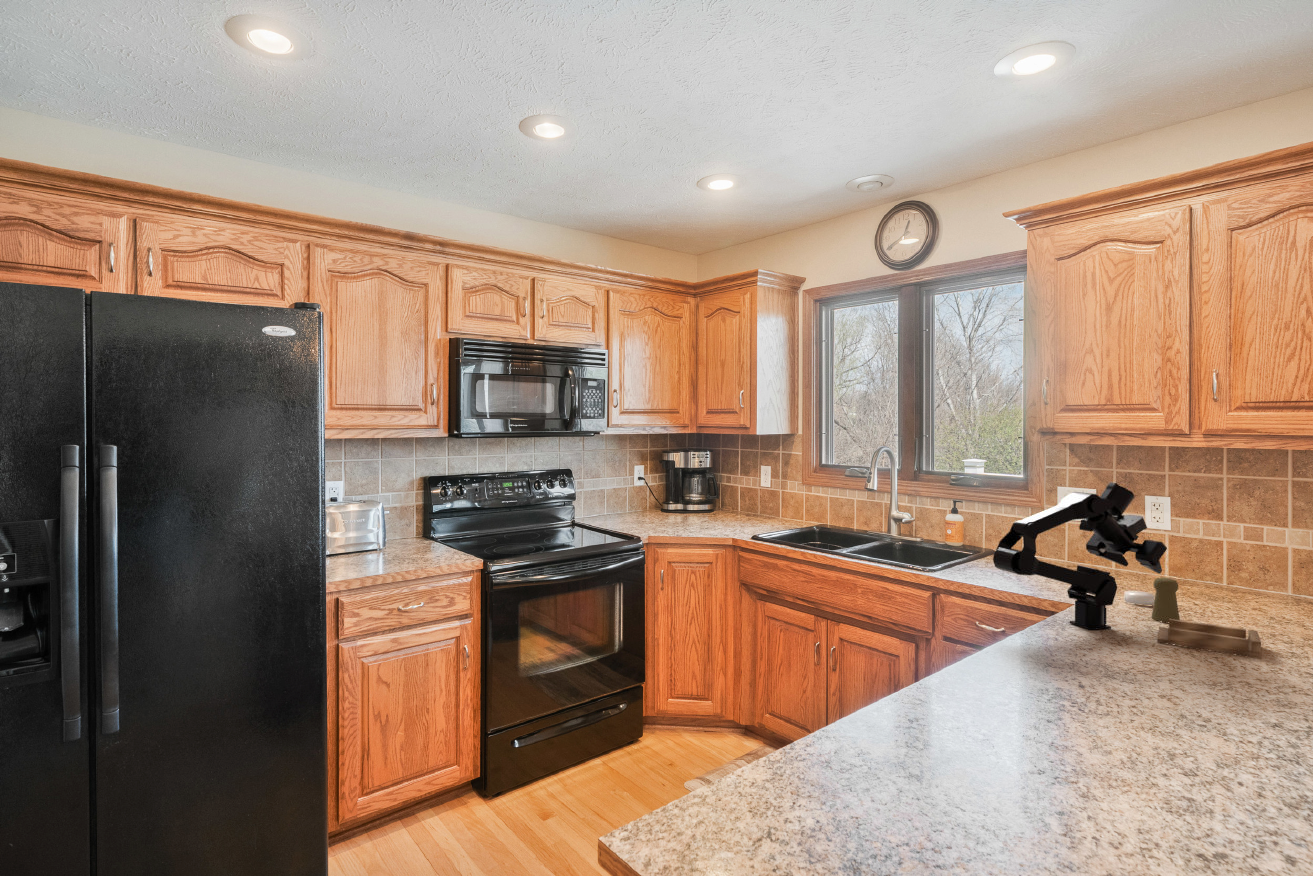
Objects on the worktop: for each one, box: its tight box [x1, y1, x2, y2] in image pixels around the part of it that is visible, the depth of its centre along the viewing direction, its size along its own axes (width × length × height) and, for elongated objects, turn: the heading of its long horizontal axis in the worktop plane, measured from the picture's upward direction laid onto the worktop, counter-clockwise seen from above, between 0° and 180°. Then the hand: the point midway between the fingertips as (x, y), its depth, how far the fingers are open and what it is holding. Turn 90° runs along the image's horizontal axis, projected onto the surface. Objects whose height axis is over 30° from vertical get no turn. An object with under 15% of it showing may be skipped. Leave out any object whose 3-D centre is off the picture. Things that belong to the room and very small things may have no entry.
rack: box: [1156, 619, 1262, 660], centre depth 155 cm, size 18×12×4 cm, turn 52°
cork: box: [1150, 577, 1181, 623], centre depth 175 cm, size 6×6×11 cm
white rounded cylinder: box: [1123, 590, 1155, 605], centre depth 193 cm, size 7×7×3 cm
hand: (1143, 568), depth 173 cm, fingers open, 9 cm apart
